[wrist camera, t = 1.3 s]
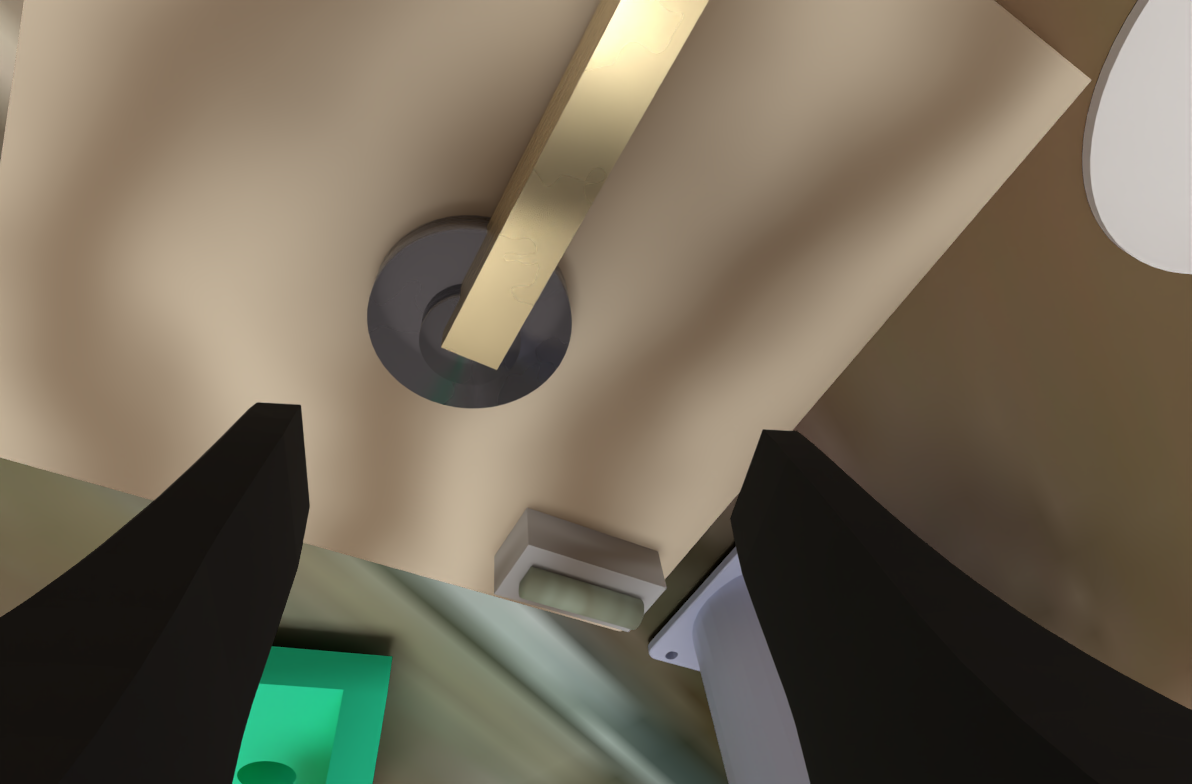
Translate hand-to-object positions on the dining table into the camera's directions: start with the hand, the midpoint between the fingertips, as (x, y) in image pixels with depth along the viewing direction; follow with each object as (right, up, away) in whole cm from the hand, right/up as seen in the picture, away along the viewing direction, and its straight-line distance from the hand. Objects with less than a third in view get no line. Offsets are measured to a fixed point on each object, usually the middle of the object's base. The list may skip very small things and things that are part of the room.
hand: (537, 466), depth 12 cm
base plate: (-2, +5, +8) cm, 10 cm away
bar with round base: (0, +6, +6) cm, 8 cm away
